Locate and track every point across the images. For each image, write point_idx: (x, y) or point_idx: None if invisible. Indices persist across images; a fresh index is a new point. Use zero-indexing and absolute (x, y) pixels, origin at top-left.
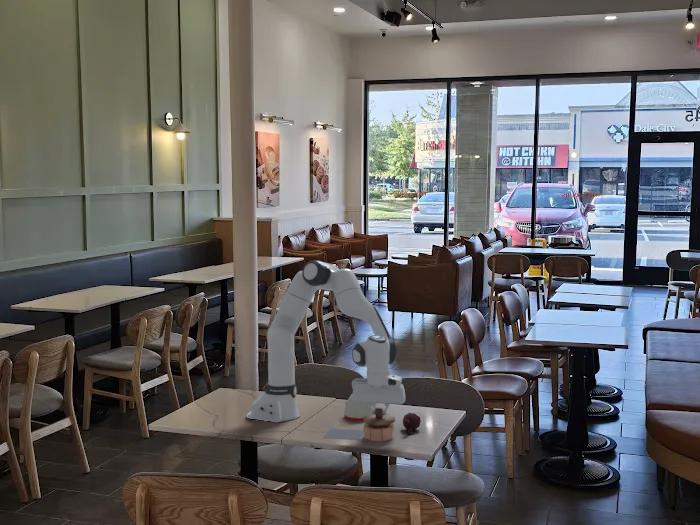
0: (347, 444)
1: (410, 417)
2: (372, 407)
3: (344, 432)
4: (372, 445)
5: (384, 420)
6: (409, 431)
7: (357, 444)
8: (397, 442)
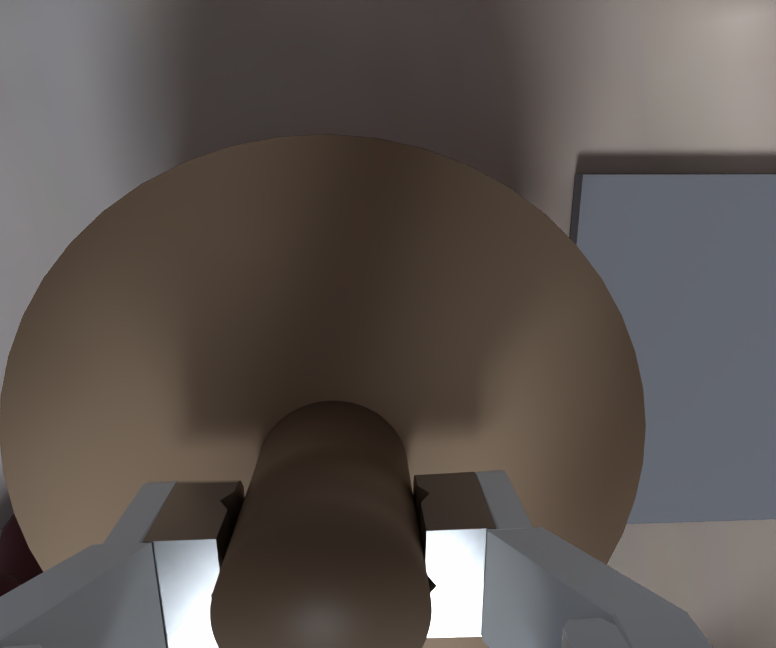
0: (700, 8)
1: None
2: (526, 639)
3: (772, 415)
4: (367, 15)
5: (172, 305)
6: (10, 526)
7: (570, 29)
8: (78, 200)
